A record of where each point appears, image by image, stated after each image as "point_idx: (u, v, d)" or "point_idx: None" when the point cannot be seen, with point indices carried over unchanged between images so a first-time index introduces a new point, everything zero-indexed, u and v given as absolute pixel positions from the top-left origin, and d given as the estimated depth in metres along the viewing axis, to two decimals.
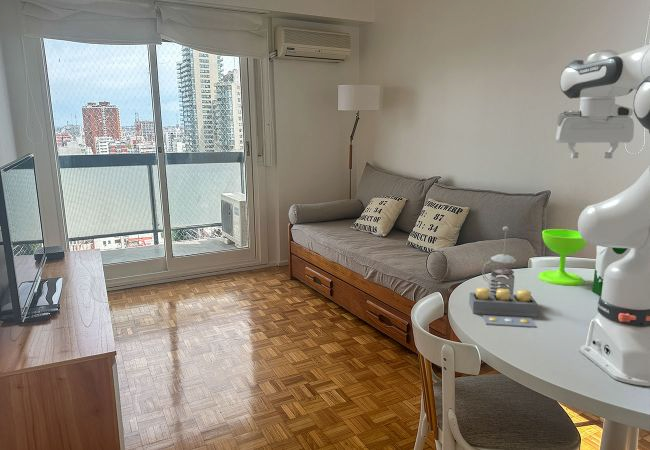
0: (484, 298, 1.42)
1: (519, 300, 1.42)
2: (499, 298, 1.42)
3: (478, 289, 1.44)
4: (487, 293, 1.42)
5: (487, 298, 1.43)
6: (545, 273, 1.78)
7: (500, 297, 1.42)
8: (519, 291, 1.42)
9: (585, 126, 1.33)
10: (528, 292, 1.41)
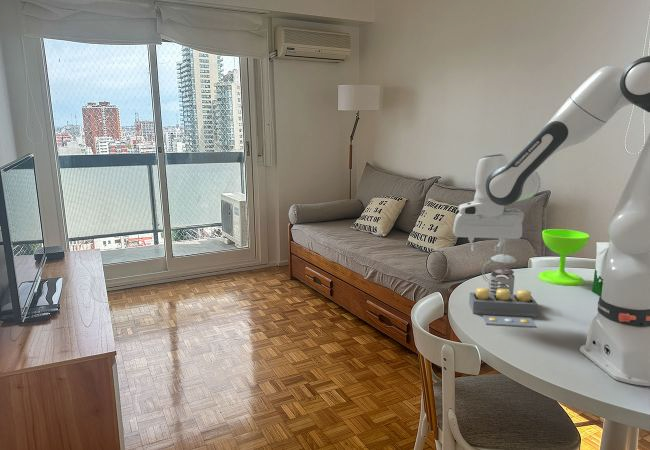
0: (484, 298, 1.42)
1: (519, 300, 1.42)
2: (499, 298, 1.42)
3: (478, 289, 1.44)
4: (487, 293, 1.42)
5: (487, 298, 1.43)
6: (545, 273, 1.78)
7: (500, 297, 1.42)
8: (519, 291, 1.42)
9: None
10: (528, 292, 1.41)
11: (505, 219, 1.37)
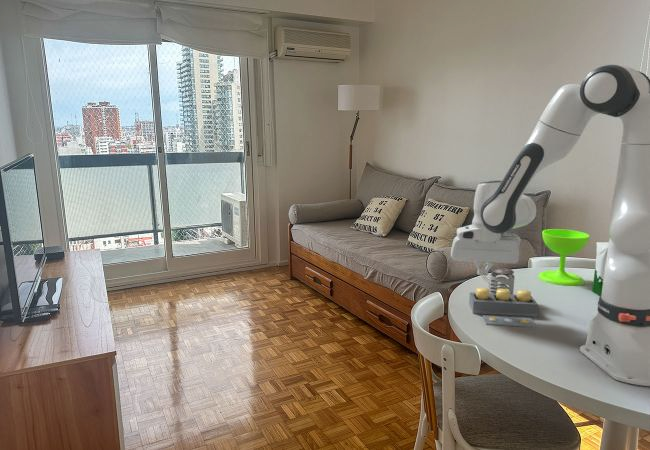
0: (484, 298, 1.42)
1: (519, 300, 1.42)
2: (499, 298, 1.42)
3: (478, 289, 1.44)
4: (487, 293, 1.42)
5: (487, 298, 1.43)
6: (545, 273, 1.78)
7: (500, 297, 1.42)
8: (519, 291, 1.42)
9: None
10: (528, 292, 1.41)
11: (503, 244, 1.39)
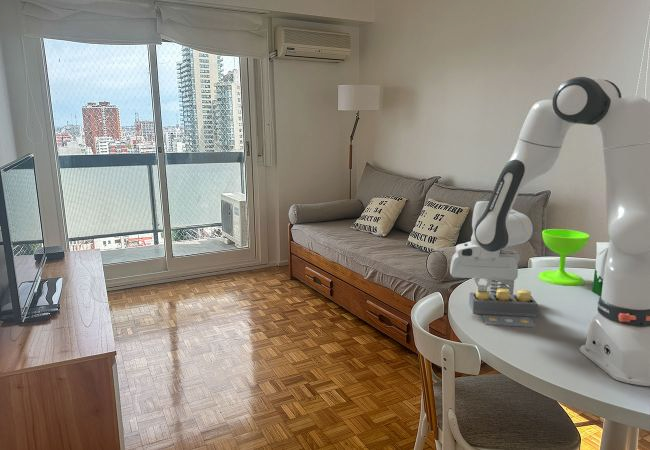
0: None
1: (519, 300, 1.42)
2: (499, 298, 1.42)
3: (478, 291, 1.44)
4: (487, 295, 1.42)
5: None
6: (545, 273, 1.78)
7: (500, 297, 1.42)
8: (519, 291, 1.42)
9: None
10: (528, 292, 1.41)
11: (501, 261, 1.40)
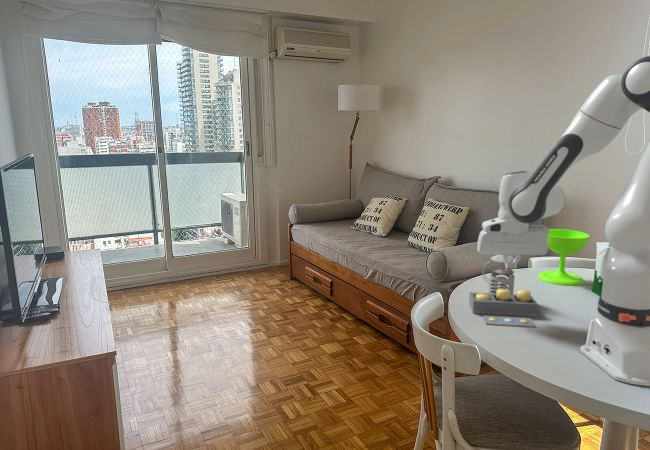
0: None
1: (519, 300, 1.42)
2: (499, 298, 1.42)
3: (478, 295, 1.45)
4: (487, 299, 1.43)
5: None
6: (545, 273, 1.78)
7: (500, 297, 1.42)
8: (519, 291, 1.42)
9: None
10: (528, 292, 1.41)
11: (531, 236, 1.36)
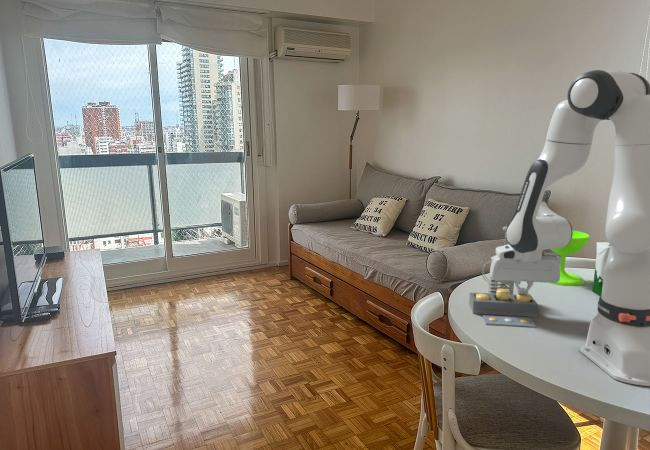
0: None
1: None
2: (499, 298, 1.42)
3: (478, 295, 1.45)
4: (487, 299, 1.43)
5: None
6: None
7: (500, 297, 1.42)
8: (519, 294, 1.43)
9: None
10: (528, 295, 1.42)
11: (544, 264, 1.38)
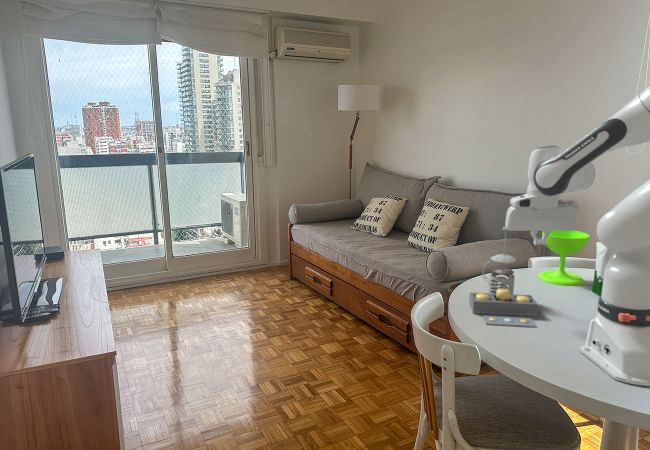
0: None
1: None
2: (499, 298, 1.42)
3: (478, 295, 1.45)
4: (487, 299, 1.43)
5: None
6: (545, 273, 1.78)
7: (500, 297, 1.42)
8: (518, 297, 1.43)
9: None
10: (527, 298, 1.42)
11: (560, 211, 1.35)
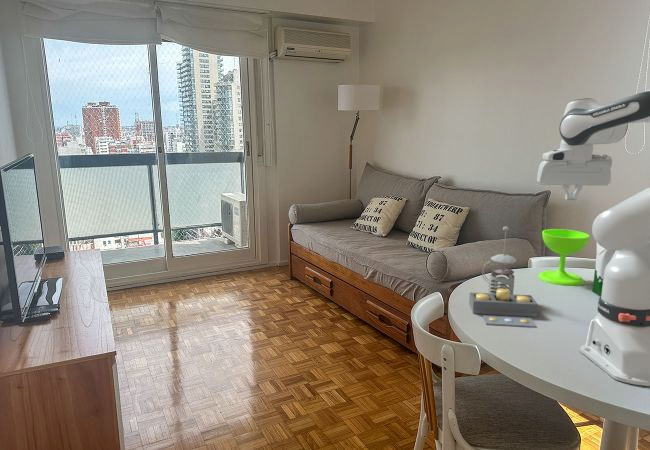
0: None
1: None
2: (499, 298, 1.42)
3: (478, 295, 1.45)
4: (487, 299, 1.43)
5: None
6: (545, 273, 1.78)
7: (500, 297, 1.42)
8: (518, 297, 1.43)
9: None
10: (527, 298, 1.42)
11: (594, 165, 1.35)
